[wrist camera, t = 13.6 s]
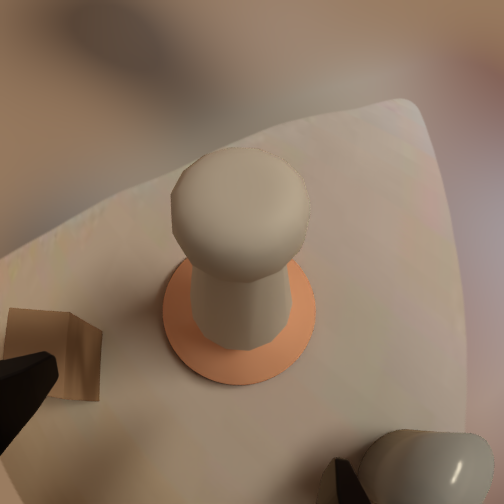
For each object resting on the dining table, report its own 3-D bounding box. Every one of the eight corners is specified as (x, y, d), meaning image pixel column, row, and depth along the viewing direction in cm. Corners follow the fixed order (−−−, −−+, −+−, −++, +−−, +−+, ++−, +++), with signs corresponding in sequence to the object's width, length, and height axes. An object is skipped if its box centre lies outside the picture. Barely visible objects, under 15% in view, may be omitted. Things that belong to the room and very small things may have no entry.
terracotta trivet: (288, 404, 19) (290, 404, 18) (143, 353, 20) (140, 351, 19) (327, 266, 23) (330, 262, 22) (197, 227, 24) (196, 222, 23)
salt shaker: (179, 326, 20) (97, 219, 8) (225, 255, 22) (209, 99, 11) (259, 372, 19) (286, 328, 7) (301, 295, 21) (366, 163, 9)
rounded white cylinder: (418, 506, 15) (472, 530, 9) (345, 503, 16) (386, 538, 9) (442, 433, 17) (504, 434, 11) (373, 423, 18) (426, 428, 12)
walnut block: (99, 401, 18) (63, 398, 14) (42, 391, 18) (1, 384, 14) (102, 331, 20) (69, 312, 16) (47, 327, 20) (9, 307, 16)
